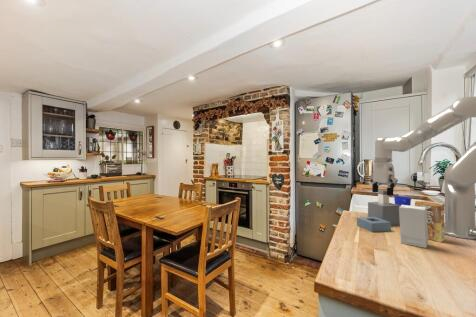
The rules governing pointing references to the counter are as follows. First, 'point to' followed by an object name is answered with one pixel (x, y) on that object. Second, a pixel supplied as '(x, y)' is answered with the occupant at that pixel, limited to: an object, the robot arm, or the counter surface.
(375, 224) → the low socket block
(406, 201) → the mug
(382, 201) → the plug
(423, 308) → the counter surface
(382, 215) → the raised socket block
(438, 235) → the candy box
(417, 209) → the skincare box
